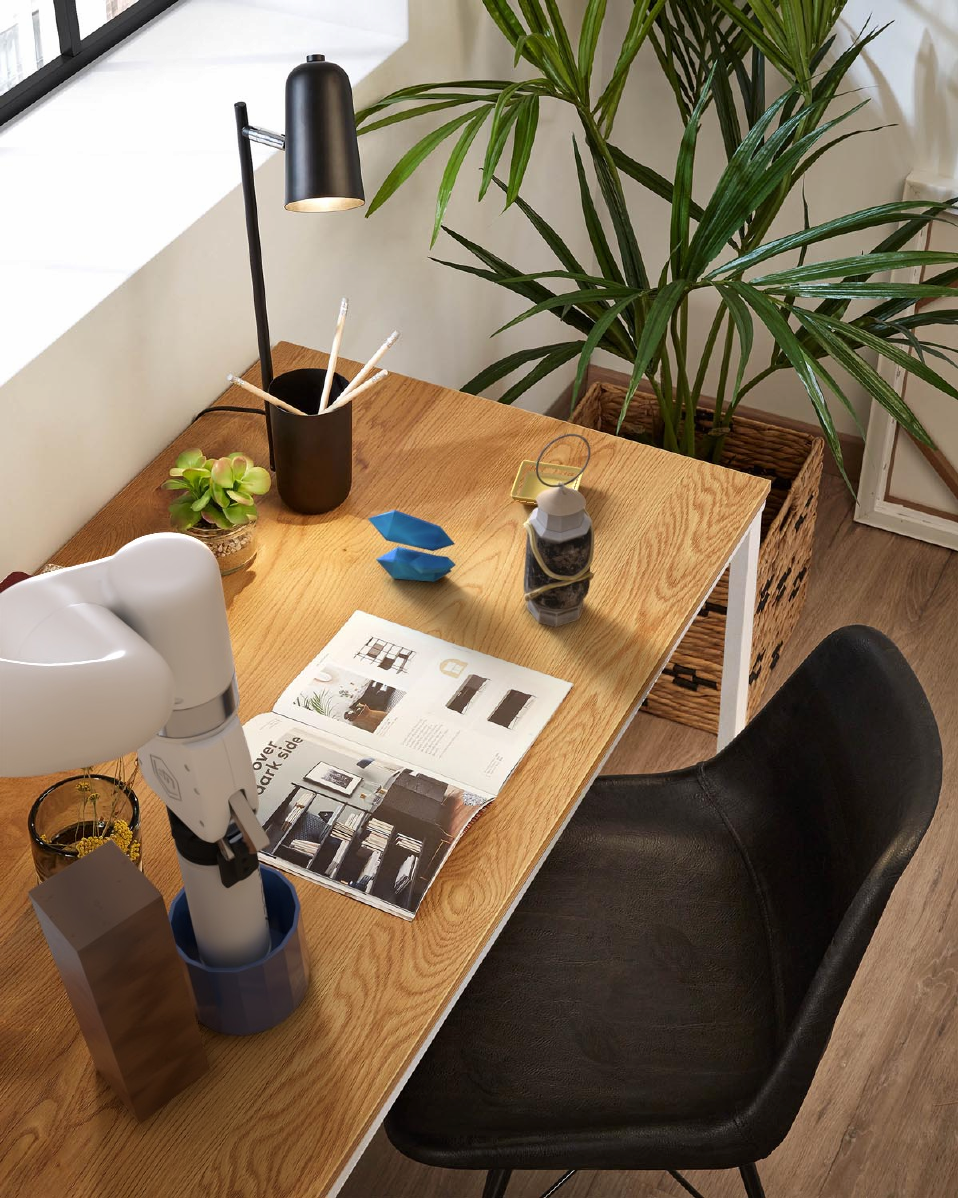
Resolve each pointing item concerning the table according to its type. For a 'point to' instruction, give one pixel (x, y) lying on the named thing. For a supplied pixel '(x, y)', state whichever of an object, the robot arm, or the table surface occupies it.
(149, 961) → the plinth
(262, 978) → the crock
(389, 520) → the blue crystals
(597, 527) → the table surface
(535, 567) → the lantern
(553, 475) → the yellow basket
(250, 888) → the travel mug
